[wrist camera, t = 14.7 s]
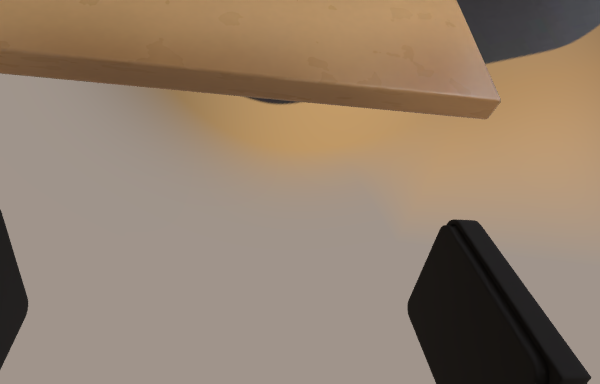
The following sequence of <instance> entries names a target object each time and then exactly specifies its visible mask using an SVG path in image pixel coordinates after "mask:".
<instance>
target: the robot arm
mask: <svg viewBox="0 0 600 384" xmlns="http://www.w3.org/2000/svg"><path fill="white" fill-rule="evenodd" d="M27 310H28V299H27V295H26V292H25V288H24V285H23V282H22V279H21V275H20V272H19V269H18V266H17V262H16V259H15V256H14V252H13V249H12V245H11V242H10V239H9V236H8V232H7V229H6V226H5V223H4V219H3V216H2V213H1V210H0V369H1V367H2V365H3V363H4V360H5V359H6V357H7V354H8V352H9V350H10V348H11V346H12V344H13V342H14V340H15V338H16V335H17V334H18V331H19V329H20V327H21V325H22V323H23V321H24V319H25V316H26V314H27ZM408 315H409V317H410V320H411V322H412V325H413V327H414V330H415V332H416V335H417V337H418V340H419V342H420V345H421V347H422V350H423V352H424V355H425V357H426V359H427V362H428V364H429V367H430V369H431V372H432V374H433V377H434V379H435V382H436V384H587V382H588V381H589V380H590V379H591V376H590V375H589V374H588V372H587V371H586V370H585V368H584V367H583V365H582V364H581V363H580V361H579V360H578V358H577V357H576V356H575V355H574V353H573V352H572V350H571V349H570V348H569V346H568V345H567V343H566V342H565V341H564V339H563V338H562V336H561V335H560V334H559V333H558V331H557V330H556V328H555V327H554V325H553V324H552V323H551V321H550V320H549V318H548V317H547V316H546V314H545V313H544V312H543V310H542V309H541V307H540V306H539V305H538V303H537V302H536V301H535V299H534V298H533V297H532V295H531V294H530V292H529V291H528V290H527V288H526V287H525V286H524V284H523V283H522V281H521V280H520V278H519V277H518V276H517V274H516V273H515V272H514V270H513V269H512V267H511V266H510V265H509V263H508V262H507V261H506V259H505V258H504V256H503V255H502V254H501V252H500V251H499V249H498V248H497V247H496V245H495V244H494V243H493V241H492V240H491V238H490V237H489V236H488V234H487V233H486V232H485V230H484V229H483V227H482V226H481V225H480V224H479V223H478V222H477V221H472V220H451V221H449V222H448V224H447V225H445V226H442V227H441V229H440V231H439V233H438V235H437V237H436V240H435V242H434V244H433V246H432V249H431V251H430V253H429V256H428V258H427V260H426V262H425V265H424V267H423V269H422V271H421V274H420V276H419V278H418V280H417V283H416V285H415V287H414V290H413V292H412V294H411V296H410V299H409V301H408Z"/></svg>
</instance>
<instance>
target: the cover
mask: <svg viewBox="0 0 600 384" xmlns="http://www.w3.org/2000/svg"><path fill="white" fill-rule="evenodd" d="M0 73H2V74H12V75H23V76H34V77H45V78H54V79H65V80H76V81H86V82H97V83H107V84H118V85H129V86H139V87H150V88H160V89H171V90H181V91H192V92H203V93H214V94H224V95H234V96H235V95H236V96H245V97H255V98H266V99H277V100H287V101H298V102H308V103H320V104H329V105H340V106H351V107H362V108H372V109H383V110H393V111H404V112H415V113H425V114H435V115H446V116H457V117H467V118H479V119H487V118H488V117H489V116H490V115H491V114H492V112H493V111H494V110H495V109H496V107H497V106H498V105H499V103H500V102H501V99H500V97H499V94H498V92H497V90H496V88H495V85H494V83H493V81H492V79H491V76H490V74H489V72H488V70H487V68H486V65H485V63H484V61H483V59H482V56H481V54H480V52H479V50H478V47H477V45H476V43H475V41H474V38H473V36H472V34H471V32H470V29H469V27H468V25H467V23H466V20H465V18H464V16H463V14H462V11H461V9H460V7H459V5H458V2H457V0H0Z"/></svg>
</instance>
